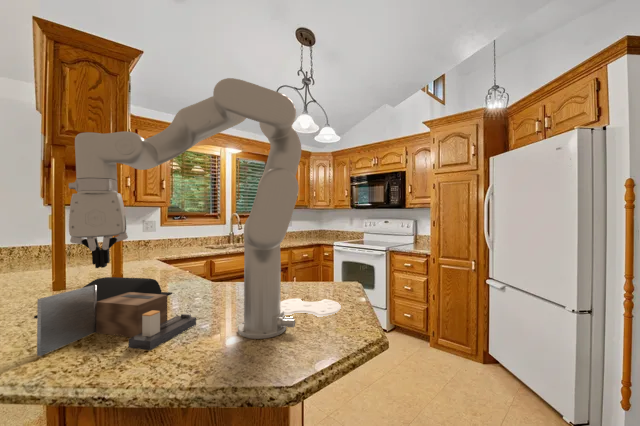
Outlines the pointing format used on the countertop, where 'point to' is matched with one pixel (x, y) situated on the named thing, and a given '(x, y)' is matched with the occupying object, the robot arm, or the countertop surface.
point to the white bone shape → (310, 307)
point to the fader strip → (163, 332)
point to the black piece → (124, 287)
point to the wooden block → (128, 312)
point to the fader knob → (150, 323)
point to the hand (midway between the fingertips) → (101, 266)
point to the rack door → (65, 318)
